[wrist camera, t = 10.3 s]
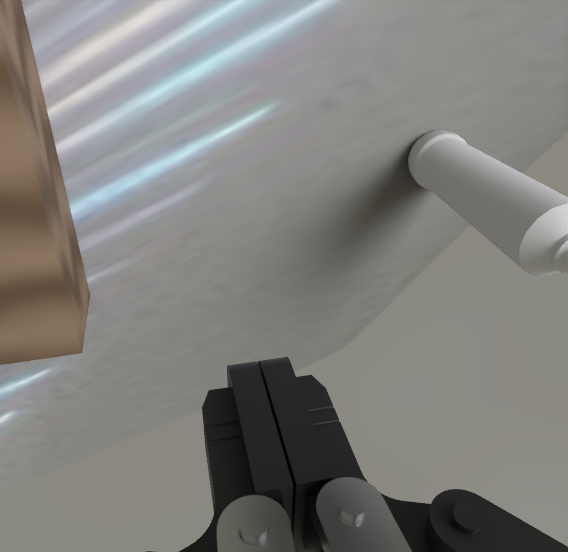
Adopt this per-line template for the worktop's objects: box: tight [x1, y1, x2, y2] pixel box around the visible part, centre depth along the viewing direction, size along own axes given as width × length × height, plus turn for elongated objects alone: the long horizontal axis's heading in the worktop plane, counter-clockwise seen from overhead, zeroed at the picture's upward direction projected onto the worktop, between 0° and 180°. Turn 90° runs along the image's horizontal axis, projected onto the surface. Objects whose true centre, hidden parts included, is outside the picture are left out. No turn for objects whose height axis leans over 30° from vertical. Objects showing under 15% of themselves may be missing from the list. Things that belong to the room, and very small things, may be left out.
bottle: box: [408, 130, 568, 276], centre depth 36 cm, size 5×5×25 cm
